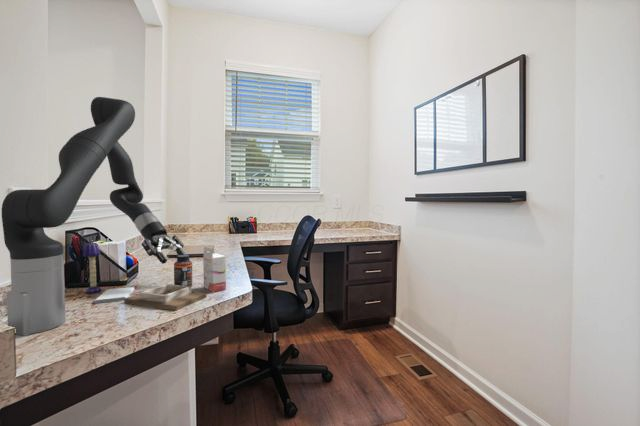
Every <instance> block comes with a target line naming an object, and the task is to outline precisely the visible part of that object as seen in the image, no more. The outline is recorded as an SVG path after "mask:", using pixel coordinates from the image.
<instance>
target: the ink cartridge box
mask: <svg viewBox="0 0 640 426" xmlns="http://www.w3.org/2000/svg"><path fill="white" fill-rule="evenodd" d="M202 258H203V259H202V260H203V263H202V264H203V288H205V289H206V290H209V291H211V292H213V293H214V292H219V291H225V290H227V279H226V278H227V276H226V275H227V274H226V268H227V266H226V265H227V264H226V263H227V261H226V260H227V259H226V255H222V254H219V253H216V252H215V253H214V249H213V248H211V247H209V246H203V257H202Z"/></svg>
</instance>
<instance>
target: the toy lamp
mask: <svg viewBox="0 0 640 426" xmlns="http://www.w3.org/2000/svg"><path fill="white" fill-rule="evenodd" d="M100 255H101V251H100V248H99V246H98V243H97V242H90V243H89V242H88V243H85V245H84V248H83V252H82V256H83V257H86V258H87V257H88V260H89V261H88V264H89V266H88V268H89V287H88V288H86V290H85V294H88V295H92V294H93V295H94V294H99V293H101V292H102V287H100V286H98V283H97V265H96V263H97V260H96V257H98V256H100Z"/></svg>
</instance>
